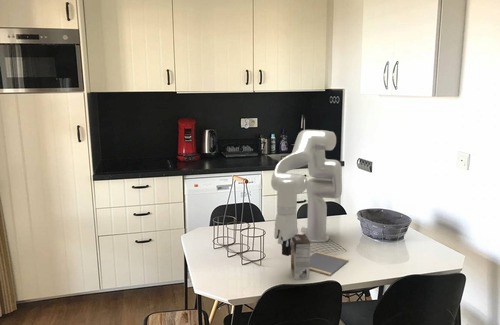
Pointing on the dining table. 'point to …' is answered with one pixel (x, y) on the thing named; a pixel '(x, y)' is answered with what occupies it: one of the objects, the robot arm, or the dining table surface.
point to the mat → (326, 263)
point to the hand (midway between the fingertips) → (286, 254)
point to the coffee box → (300, 257)
